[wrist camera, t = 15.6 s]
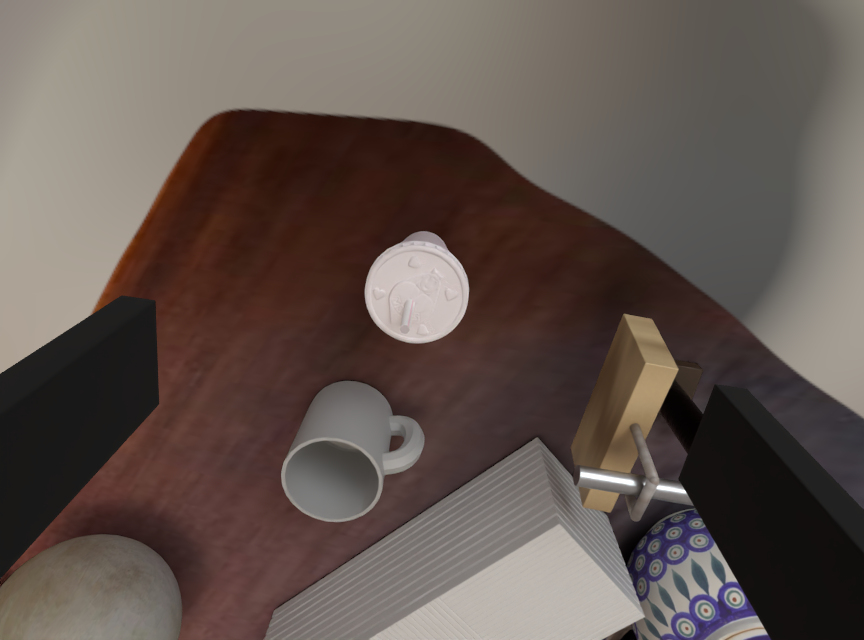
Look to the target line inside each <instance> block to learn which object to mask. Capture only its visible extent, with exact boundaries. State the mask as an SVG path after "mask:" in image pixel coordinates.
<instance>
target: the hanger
mask: <svg viewBox="0 0 864 640" xmlns="http://www.w3.org/2000/svg"><path fill="white" fill-rule="evenodd" d="M678 370H679V369H678V367H677V365H676V363H675V361H674V359H673V357H672V356H671V354H670V352H669V350H668V348H667V346H666V344H665V342H664V341H663V339H662V337H661V335H660V333H659V331H658V329H657V327H656V325H655V324H654V322H653V320H652V319H648V318H643V317H638V316H633V315H628V314H623V316H622V319H621V321H620V324H619V326H618V329H617V332H616V334H615V337H614V339H613V342H612V344H611V347H610V349H609V352H608V354H607V357H606V359H605V362H604V365H603V367H602V370H601V372H600V375H599V377H598V380H597V382H596V385H595V387H594V390H593V392H592V395H591V397H590V400H589V403H588V405H587V408H586V410H585V413H584V415H583V418H582V420H581V423H580V425H579V428H578V430H577V433H576V436H575V438H574V441H573V443H572V446H571V452H572V457H573V462H574V467H576V465H583V466H589V467H595V468H601V469H607V470H613V471H619V472H625V473H630V471H631V469H632V467H633V465H634V463H635V461H636V458H637V456H638V454H639V457H640V460H641V463H642V466H643V468H644V471H645V474H646V477H647V481H646V483H645V485H644V487H643V489H642V491H641V493H640V495H639V497H638V499H637V500H636V497H635V496H632V495H626V494H625V500H626V503H627V507H628V510H629V514H630V517H631V519H632V520H633V521H639V520H640V519H641V517H642V516H643V514H644V512H645V510H646V508H647V506H648V504H649V502H650V500H651V498H652V496H653V494H654V492H655V490H656V488H657V487H658V485H659V482H660V480H659V477H658V474H657V472H656V469H655V466H654V464H653V461H652V458H651V455H650V453H649V450H648V447H647V445H646V442H645V439H646V437H647V435H648V433H649V431H650V429H651V427H652V425H653V423H654V421H655V418H656V416H657V414H658V412H659V410H660V408H661V406H662V404H663V402H664V400H665V397H666V395H667V393H668V391H669V389H670V387H671V385H672V383H673V381H674V378H675V376H676V374H677V372H678ZM579 492H580V497H581V502H582V507H583V508H588V509H594V510H599V511H604V512H611V511H612V509H613V507H614V505H615V503H616V500H617V498H618V496H619V494H620V493H614V492H608V491H602V490H596V489H590V488H584V487H579Z"/></svg>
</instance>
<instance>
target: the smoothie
mask: <svg viewBox="0 0 864 640" xmlns="http://www.w3.org/2000/svg"><path fill="white" fill-rule="evenodd" d="M468 296H469V285H468V279H467V275H466V273H465V271H464V269H463V267H462V265H461V264H460V262H459V261H458V260H457V259H456V258H455V257H454V255H453V254H451V253H450V252H449V251H448V249H447V247H446V245H445V243H444V242H443V240H442V239H441V238H440V237H439V236H437V235H436V234H434V233H431V232H426V231H421V232H416V233H413V234H411V235H410V236H408V237H407V238H406V239H405V240H404V241H403V242H402V243H399V244H397V245H395V246H393V247H391V248H388V249H387V250H386V251H385V252H383V253H382V254H381V255H380V256H379V257H378V258H377V259H376V261H375V262H374V264H373V265H372V267H371V268H370V271H369V274H368V277H367V280H366V286H365V301H366V305H367V309H368V311H369V314H370V316H371V317H372V319H373V321H374V322H375V323H376V324H377V326H378V327H379V328H380V329H381V330H383V331H384V332H385V333H386V334H388V335H390V336H391V337H393V338H395V339H398V340H400V341H404V342H408V343H427V342H431V341H435V340H437V339H440V338H442V337H444V336H445V335H447V334H448V333H450V332H451V331H452V330H453V329H454V328H455V327H456V326H457V325H458V324H459V322H460V321H461V319H462V318H463V316H464V313H465V311H466V308H467V304H468Z"/></svg>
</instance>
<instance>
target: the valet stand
mask: <svg viewBox="0 0 864 640" xmlns="http://www.w3.org/2000/svg"><path fill="white" fill-rule="evenodd" d="M674 361H675V363H676V365H677V367H678V369H679V370H678V372H677V374H676V376H675V378H674V381H673V383H672V385H671V387H670V389H669V391H668V393H667V395H666V397H665V400H664V402H663V404H662V406H661V408H660V410H659V412H658V414H660V415H662V416H663V417H664V419H665V420H666V422H667V423H668V425H669V426H670V428H671V430H672V431H673V433H674V434H675V436H676V437H677V439H678V440H679V442H680V443H681V445H682V446H683V448H684V449H685V451H686V452H687V454H688V453H689V450H690V448H691V445H692V443H693V440H694V437H695V435H696V432H697V430H698V427H699V424H700V422H701V419H702V417H703V414H702V412H701V411H700V410H699V408H698V407H697V406H696V405H695V403H694V402H693V401H692V398H693V396H694V393H695V390H696V388H697V385H698V383H699V380H700V378H701V375H702V372H703V369H702V368H701V367H700V366H699V365H698V364H696V363H690V362H685V361H679V360H674ZM659 480H660V482H659V485H658V487H657V488H656V490H655V492H654V494H653V496H652V498H651V499H656V500H662V501H668V502H674V503H680V504H686V505H692V506H694V505H693V503H692V502H691V500H690V498H689V496H688V495H687V493H686V491H685V490H684V488H683V486H682V484H681V483H680V482H679V481H673V480H667V479H661V478H659ZM646 481H647V477H646V476H643V475H637V474H631V473H625V472H619V471H613V470H607V469H601V468H595V467H589V466H583V465H576V467H575V469H574V473H573V482H574V485H575V486H578V487H584V488H590V489H596V490H602V491H608V492H614V493H620V494H626V495H632V496H638V497H639V495H640V493H641V491H642V489H643V487H644V485H645V483H646Z"/></svg>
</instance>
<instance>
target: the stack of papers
mask: <svg viewBox="0 0 864 640" xmlns="http://www.w3.org/2000/svg"><path fill="white" fill-rule="evenodd" d="M612 531H613V529H612V527H611V525H610V521H609V519H608V517H607V515H606V514H605V513H604V512H603V511H599V510H594V509H588V508H583V507H582V502H581V497H580V492H579V487H578V486H575V485H574V482H573V477H572V476H571V475H570V473H569V472H568V471H567V470H566V469H565V468H564V467H563V465H562V464H561V463H560V462H559V461H558V460H557V459H556V458H555V456H554V455H553V454H552V453H551V452H550V451H549V450H548V448H547V447H546V446H545V445H544V444H543V443H542V442H541V440H540V439H539V438H538V437H537V438H535V439H534V440H532V441H531V442H529V443H528V444H526V445H525V446H523V447H522V448H520V449H519V450H517V451H515V452H514V453H512V454H511V455H509V456H508V457H506V458H505V459H503V460H502V461H500V462H499V463H497V464H496V465H494V466H493V467H491V468H490V469H488V470H487V471H485V472H484V473H482V474H481V475H479V476H478V477H476V478H474V479H473V480H471V481H470V482H468V483H467V484H465V485H464V486H462V487H461V488H459V489H458V490H456V491H455V492H453V493H452V494H450V495H449V496H447V497H446V498H444V499H443V500H441V501H440V502H438V503H437V504H435V505H433V506H432V507H430V508H429V509H427V510H426V511H424V512H423V513H421V514H420V515H418V516H417V517H415V518H414V519H412V520H411V521H409V522H408V523H406V524H405V525H403V526H402V527H400V528H399V529H397V530H396V531H394V532H392V533H391V534H389V535H388V536H386V537H385V538H383V539H382V540H380V541H379V542H377V543H376V544H374V545H373V546H371V547H370V548H368V549H367V550H365V551H364V552H362V553H361V554H359V555H358V556H356V557H355V558H353V559H351V560H350V561H348V562H347V563H345V564H344V565H342V566H341V567H339V568H338V569H336V570H335V571H333V572H332V573H330V574H329V575H327V576H326V577H324V578H323V579H321V580H320V581H318V582H317V583H315V584H314V585H312V586H310V587H309V588H307V589H306V590H304V591H303V592H301V593H300V594H298V595H297V596H295V597H294V598H292V599H291V600H289V601H288V602H286V603H285V604H283V605H282V606H280V607H279V608H277V609H276V610H274V612H273V615H272V618H273V619H271V621H270V624H269V628H268V630H267V632H266V637H265V638H264V640H602V639H604V638H606V637H608V636H610V635H612V634H614V633H616V632H617V631H619V630H621V629H623V628H625V627H627V626H629V625H631V624H632V623H634V622H636V621H638V620H640V619H642V618H644V617H645V615H644V613H643V610H642V607H641V606H640V602H639V599H638V597H637V595H636V591H635V588H634V586H633V585H632V584H633V583H632V580H631V578H630V576H629V575H628V574H629V572H628V570H627V567H626V566H625V565H626V564H625V562H624V559H623V557H622V554H621V551H620V549H619V546H618V543H617V541H616V540H615V539H616V537H615V535H614V533H613V532H612Z"/></svg>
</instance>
